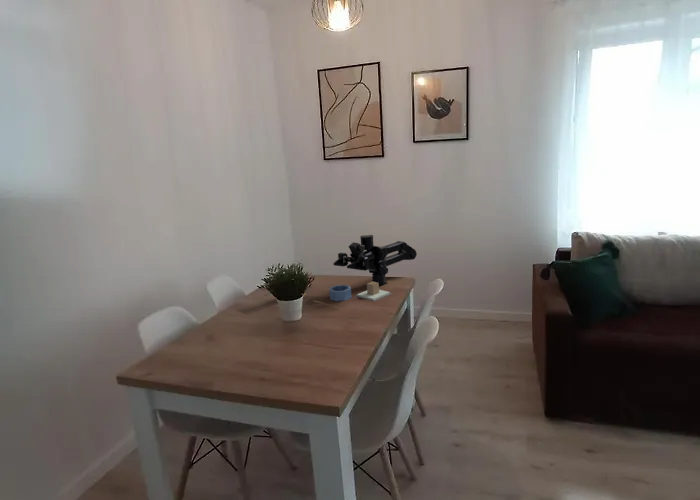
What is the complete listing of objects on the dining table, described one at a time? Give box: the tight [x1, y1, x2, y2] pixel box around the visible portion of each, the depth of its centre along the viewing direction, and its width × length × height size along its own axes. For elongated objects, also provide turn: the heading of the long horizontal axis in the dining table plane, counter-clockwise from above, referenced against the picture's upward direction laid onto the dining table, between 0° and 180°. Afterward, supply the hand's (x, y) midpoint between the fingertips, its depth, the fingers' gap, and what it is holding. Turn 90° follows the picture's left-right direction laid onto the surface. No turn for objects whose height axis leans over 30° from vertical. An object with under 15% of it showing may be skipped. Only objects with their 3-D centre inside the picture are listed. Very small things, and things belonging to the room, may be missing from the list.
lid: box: [356, 281, 391, 301], centre depth 217 cm, size 11×11×6 cm
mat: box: [354, 292, 393, 302], centre depth 218 cm, size 13×13×1 cm
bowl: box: [328, 284, 352, 302], centre depth 218 cm, size 10×10×5 cm
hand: (340, 265), depth 213 cm, fingers open, 9 cm apart
